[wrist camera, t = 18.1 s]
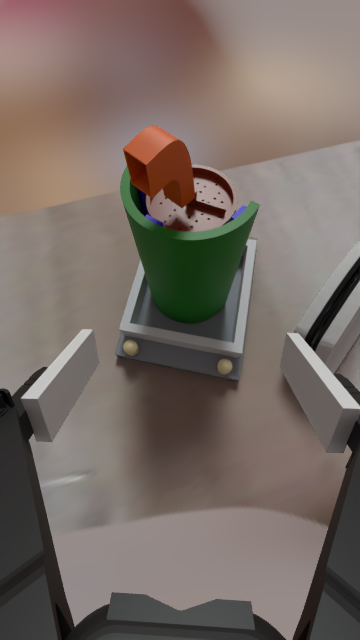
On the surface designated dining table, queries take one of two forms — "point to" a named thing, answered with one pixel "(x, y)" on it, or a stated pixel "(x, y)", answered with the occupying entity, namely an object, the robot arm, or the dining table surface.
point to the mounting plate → (189, 328)
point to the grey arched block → (335, 313)
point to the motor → (183, 226)
